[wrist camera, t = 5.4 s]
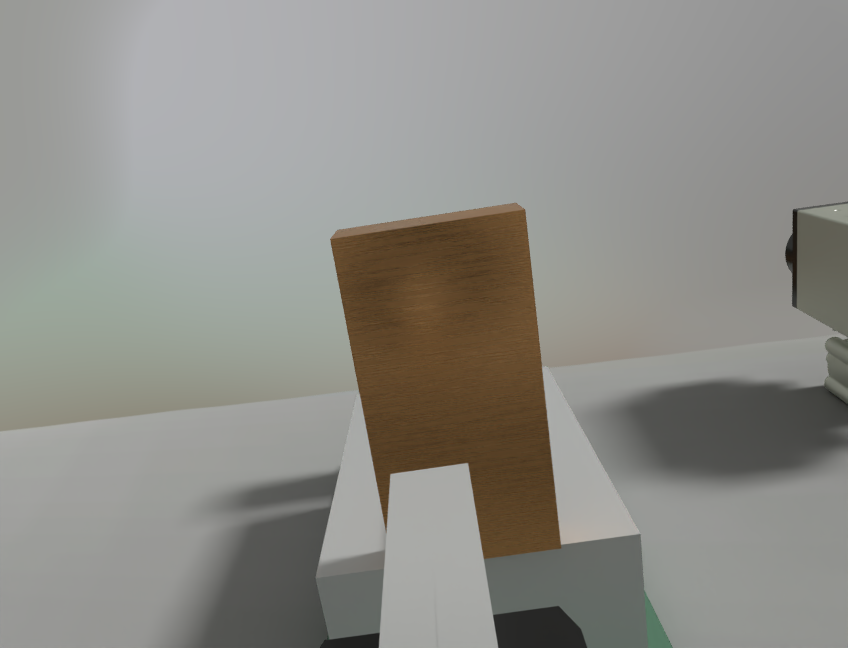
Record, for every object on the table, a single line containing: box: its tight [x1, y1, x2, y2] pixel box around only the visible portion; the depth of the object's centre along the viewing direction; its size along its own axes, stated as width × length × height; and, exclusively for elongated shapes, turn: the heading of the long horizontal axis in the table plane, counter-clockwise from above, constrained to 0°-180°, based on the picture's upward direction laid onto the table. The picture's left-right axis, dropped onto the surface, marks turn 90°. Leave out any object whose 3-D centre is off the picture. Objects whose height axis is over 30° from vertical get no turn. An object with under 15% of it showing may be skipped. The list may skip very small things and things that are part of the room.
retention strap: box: [330, 203, 561, 559], centre depth 25 cm, size 14×5×10 cm, turn 1°
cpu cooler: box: [315, 366, 673, 648], centre depth 28 cm, size 24×12×9 cm, turn 1°
